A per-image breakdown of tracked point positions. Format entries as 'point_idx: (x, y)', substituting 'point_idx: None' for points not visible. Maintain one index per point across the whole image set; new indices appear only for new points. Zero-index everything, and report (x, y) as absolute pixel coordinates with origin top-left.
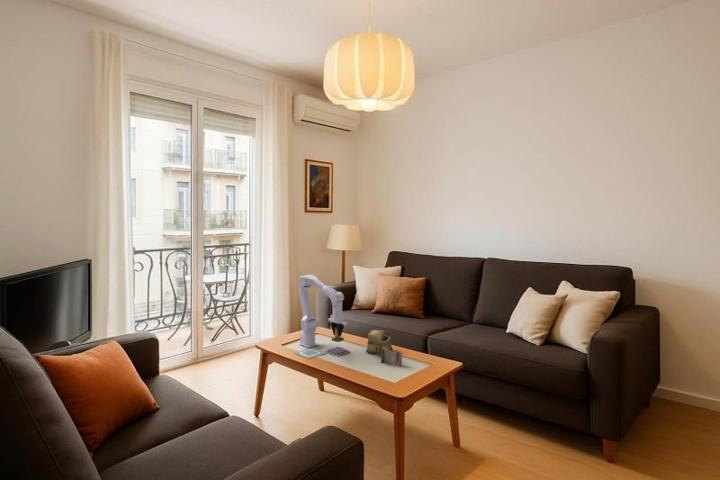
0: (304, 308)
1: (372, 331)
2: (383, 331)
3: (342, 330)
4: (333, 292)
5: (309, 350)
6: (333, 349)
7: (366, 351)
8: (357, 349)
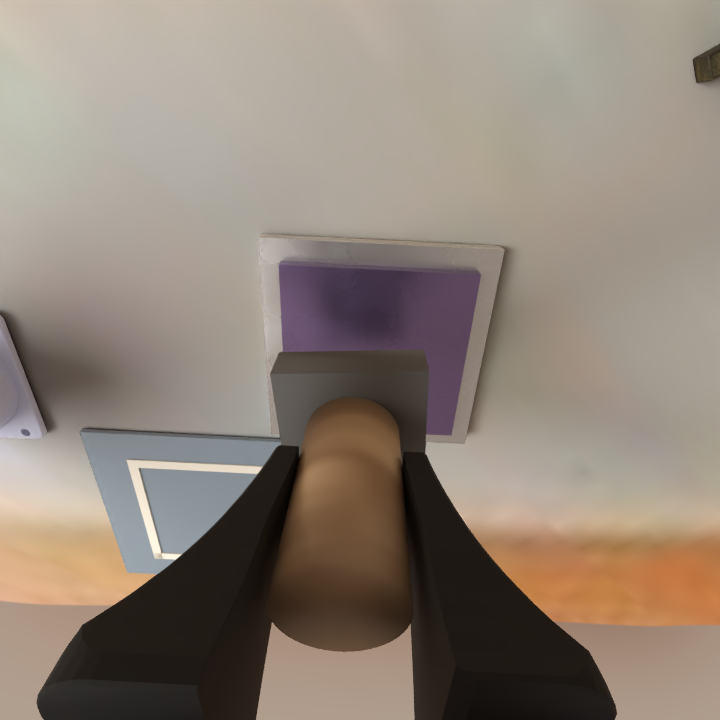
0: None
1: None
2: None
3: (471, 534)
4: None
5: (144, 482)
6: None
7: (711, 78)
8: (508, 72)
